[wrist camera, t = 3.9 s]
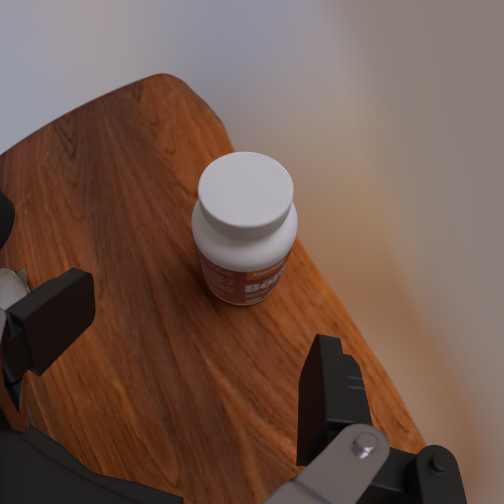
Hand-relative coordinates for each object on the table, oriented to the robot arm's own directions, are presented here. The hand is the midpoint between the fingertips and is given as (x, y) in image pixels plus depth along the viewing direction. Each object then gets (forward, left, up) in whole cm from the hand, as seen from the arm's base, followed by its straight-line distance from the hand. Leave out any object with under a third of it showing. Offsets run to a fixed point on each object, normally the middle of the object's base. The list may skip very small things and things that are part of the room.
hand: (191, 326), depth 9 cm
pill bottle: (-6, -4, -13) cm, 15 cm away
